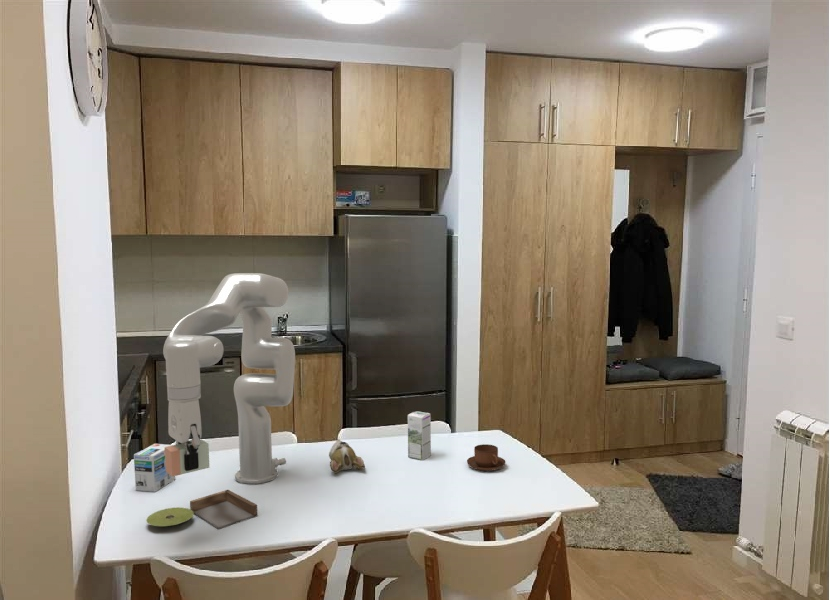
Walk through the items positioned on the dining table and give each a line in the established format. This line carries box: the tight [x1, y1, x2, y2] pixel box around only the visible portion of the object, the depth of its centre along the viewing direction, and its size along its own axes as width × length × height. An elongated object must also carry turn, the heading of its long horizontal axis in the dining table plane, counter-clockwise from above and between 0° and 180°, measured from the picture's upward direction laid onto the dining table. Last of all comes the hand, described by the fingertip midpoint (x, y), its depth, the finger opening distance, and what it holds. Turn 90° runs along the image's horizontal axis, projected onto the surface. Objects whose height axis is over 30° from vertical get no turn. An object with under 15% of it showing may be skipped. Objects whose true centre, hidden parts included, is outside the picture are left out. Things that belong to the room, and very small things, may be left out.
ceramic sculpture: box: [328, 439, 366, 473], centre depth 205 cm, size 11×9×15 cm
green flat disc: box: [146, 506, 195, 527], centre depth 166 cm, size 11×11×2 cm
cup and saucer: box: [466, 444, 506, 472], centre depth 205 cm, size 12×12×6 cm
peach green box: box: [165, 438, 210, 477], centre depth 158 cm, size 9×4×6 cm, turn 129°
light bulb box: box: [133, 443, 176, 493], centre depth 192 cm, size 11×7×11 cm, turn 168°
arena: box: [189, 489, 258, 530], centre depth 172 cm, size 11×15×3 cm
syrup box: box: [407, 411, 432, 461], centre depth 215 cm, size 6×6×14 cm
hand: (187, 465), depth 159 cm, fingers closed on peach green box, 4 cm apart
